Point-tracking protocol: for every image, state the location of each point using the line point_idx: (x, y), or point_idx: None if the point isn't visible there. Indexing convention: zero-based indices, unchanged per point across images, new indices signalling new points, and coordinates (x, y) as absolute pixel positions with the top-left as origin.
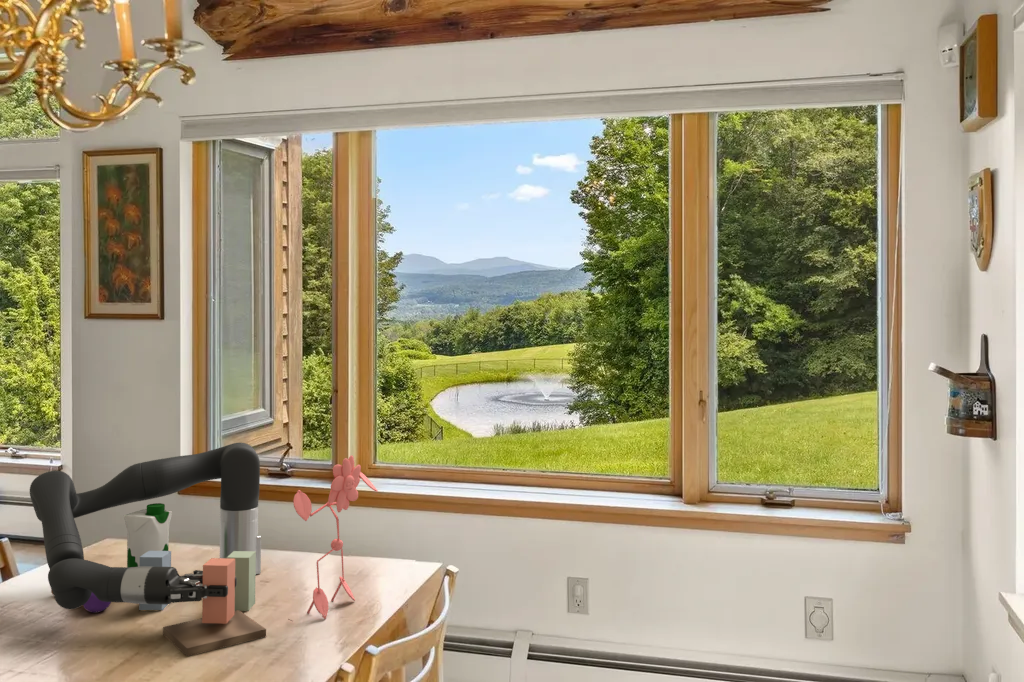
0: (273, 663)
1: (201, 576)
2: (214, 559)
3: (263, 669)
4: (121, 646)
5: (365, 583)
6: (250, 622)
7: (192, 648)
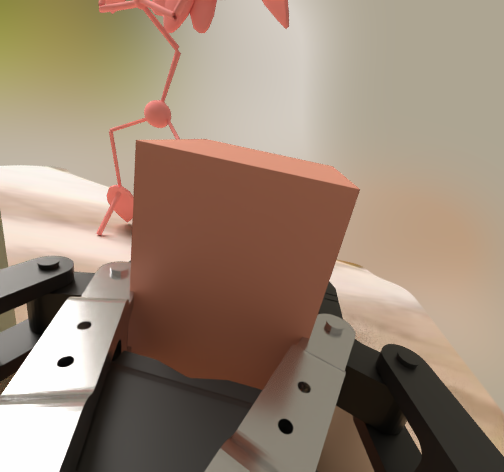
0: (404, 333)
1: (120, 331)
2: (188, 147)
3: (439, 349)
4: None
5: (41, 201)
6: None
7: None
